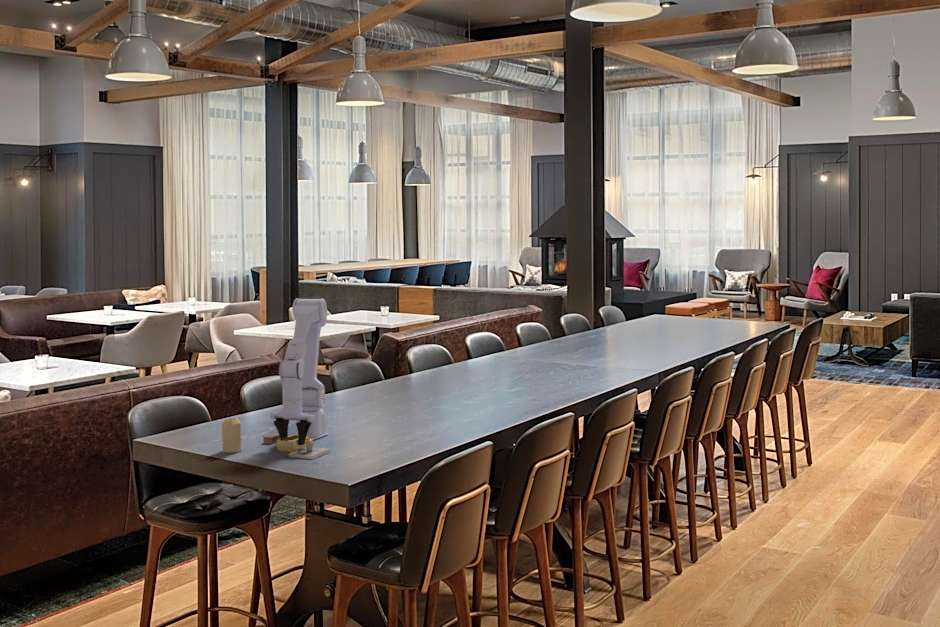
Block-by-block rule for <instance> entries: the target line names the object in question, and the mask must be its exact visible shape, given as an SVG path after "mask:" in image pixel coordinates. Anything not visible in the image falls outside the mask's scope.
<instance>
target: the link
mask: <svg viewBox="0 0 940 627" xmlns="http://www.w3.org/2000/svg"><path fill="white" fill-rule="evenodd" d="M306 439H309V436H307V435H306ZM306 439H305V444H303V445H299V440H298V435H297V434H295V433H294V434H290V435H288V436H287V437H284V438H281V439H278V440H277V442H276V451H278V452H286V453H287V452H288V453H291V452H294V451H297V450H299V449H302V448H304V447H306Z"/></svg>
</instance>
